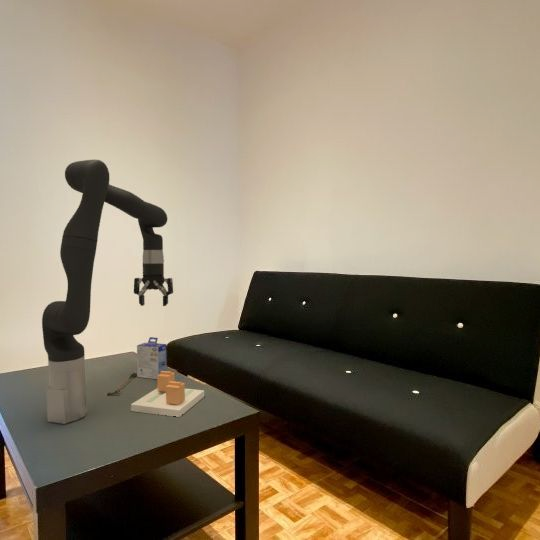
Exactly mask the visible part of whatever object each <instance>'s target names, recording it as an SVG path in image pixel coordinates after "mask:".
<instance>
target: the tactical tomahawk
mask: <svg viewBox="0 0 540 540" xmlns="http://www.w3.org/2000/svg"><path fill="white" fill-rule="evenodd" d="M135 377H137V372H132V373H131V374H130V377H128V378H127V379H126V380H125V381H123V383H122V384H121V385H119V386H118V387H117V389H116V390H114V392H107V394H106V396H111V397H114V396H115V397H120V396H121V395H123V393H122V392H121V391H122V390H123V389H124V388H125V387H126V386H127V385H128V384H129V383H130V382H131V381H133V380H134V379H135Z"/></svg>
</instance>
